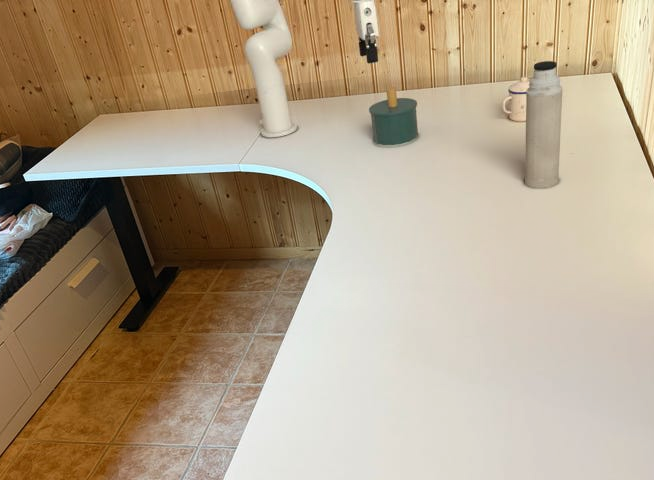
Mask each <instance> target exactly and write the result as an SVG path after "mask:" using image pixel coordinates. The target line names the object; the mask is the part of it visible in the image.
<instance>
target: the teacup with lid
mask: <svg viewBox="0 0 654 480" xmlns="http://www.w3.org/2000/svg"><path fill="white" fill-rule="evenodd" d="M529 84H530V79H529V78H528V77H527V76H522V77H520V80H518V81H517V82H515V83H512V84H511V85H510V86H509V87H508V90H507V91H508V96H506V97H505V98H503V100H502V101H501V108H502V112H504V113H505V114H508V118H509V120H511V121H514V122H526V91H527V89H528V88H530V87H529ZM507 101H508V110H507V108H506V103H507Z"/></svg>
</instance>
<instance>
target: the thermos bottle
mask: <svg viewBox="0 0 654 480" xmlns="http://www.w3.org/2000/svg"><path fill="white" fill-rule="evenodd" d="M556 67H557V62H556V61H554V60H553V61H552V60H544V61H539V62H536V63H535V64H533V77H531V78H530V79H529V80H530V84H529V87H530V88H528V89H527V91H526V121H525V148H524V149H525V155H524V156H525V157H524V159H525V161H524V162H525V163H524V183H525V185H526V186H528V187H531V188H535V189H537V188H538V189H541V188H544V189H545V188H549V187H553V186H555V185H556V184H557V183H558V182H559V174H560V154H561V153H560V151H561V129H562V109H563V107H562V106H563V86H561V85H560V84H561V78H560V76H558V75H557V69H556Z"/></svg>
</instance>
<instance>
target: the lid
mask: <svg viewBox="0 0 654 480" xmlns="http://www.w3.org/2000/svg"><path fill="white" fill-rule="evenodd" d="M397 96H398V95H397V88H396V87H394V86H392V87H388V88H386V98H387V99H383V100H381V101H377V102H375V103H374V104H372V105H371V106H369V108H368V112H369V114H370V115H371V114H372V115H376V116H392V115H398V114H402V113H406V112H409V111H411V110H413V109H414V108H416V109H417V107H418V101H417V100H416V99H413V98H411V97H410V98H409V97H397Z"/></svg>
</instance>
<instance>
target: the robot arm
mask: <svg viewBox="0 0 654 480" xmlns="http://www.w3.org/2000/svg"><path fill="white" fill-rule="evenodd" d="M229 3H230V5H231V8H232V10H233V12H234V15H235V18H236V20H237V22H238V25H240V27H241V28H242V30H245V31H252V30H255V29H258V28H261V27H262V28H263V30H261V31H259V32H256V33H254V34H252V35H251V36H250V37H248V39H247V40H246V42H245V44H244V55H245V58H246V60H247V63H248V65H249V68H250V71H251V73H252V76H253V77H252V78H253V82H254V85H255V89H256V95H257V98H258V104H259V109H260V112H261V119H259V121H258V122H259V124H261V125H262V126H263V128H262V129H261V130H260V134H261V136H262V137H264V138H279V137H284V136H288V135H290V134H293V133H294V132H296V130H297V129H298V124H297V123H296V122H293V121H292V117H291V116H292V115H291V111H290V107H289V106H290V105H289V100H288V96H287V92H286V86H285V81H284V76H283V73H282V71H281V69H280V67H279V66H278V64H277V63H276V61H278V60H280V59H282V58H284V57H285V56H287V55H288V54H290V52H291V51H292V48H293V39H292V35H291V31H290V29H289V26H288V23H287V19H286V17H285V14H284V11H283V7H282V6H281V3H280V0H229ZM349 3H352V4H353V13H354V24H355V31H356V35H357V39H358V49H359V56H360V57H365V56H366V63H367V64H373V63H378V62H379V54H378V47H377V41H376V39H379V37H380V30H379V23H378V15H377V9H376V3H375V0H349Z"/></svg>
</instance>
